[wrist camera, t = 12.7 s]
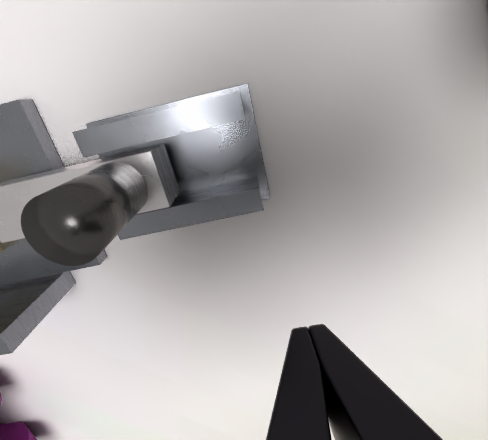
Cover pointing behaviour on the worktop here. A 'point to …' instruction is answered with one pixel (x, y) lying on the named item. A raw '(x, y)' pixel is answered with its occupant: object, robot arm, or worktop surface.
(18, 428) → the mounting bracket
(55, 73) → the worktop surface
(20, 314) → the frame
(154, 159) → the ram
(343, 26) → the worktop surface
